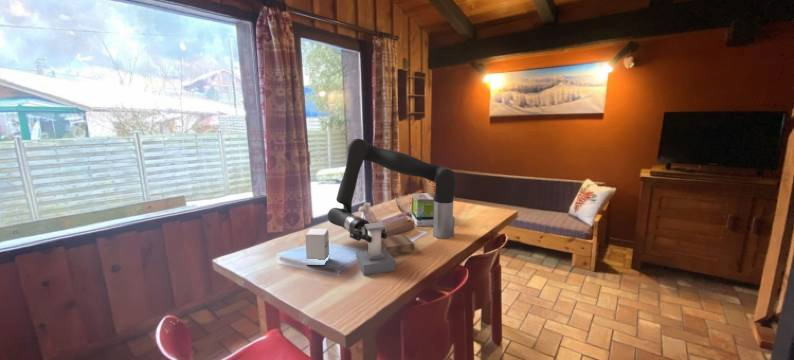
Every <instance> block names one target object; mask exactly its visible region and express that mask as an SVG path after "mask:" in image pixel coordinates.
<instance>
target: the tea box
mask: <svg viewBox="0 0 794 360" xmlns="http://www.w3.org/2000/svg"><path fill="white" fill-rule="evenodd" d="M411 195H412V197H411V219H412V221H413V220H414V221H413V222H414V223H415V226H417V227H429V226H430V227H431V226H432V227H433V215H434V196H433V195H431V194H430V193H427V192H425V193H423V192H421V193H419V192H418V193H411Z"/></svg>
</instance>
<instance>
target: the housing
mask: <svg viewBox="0 0 794 360" xmlns="http://www.w3.org/2000/svg"><path fill="white" fill-rule="evenodd" d="M365 228H366V229H367V230H368V235H369V236H371V237H372V242H370V243H369V242H367V250H366V251H367V252H365V255H366V256H367V257H368V259H369V260H373V259H380V258H385V255H384V254H383V253H382V251H381V230H384V228H385V225H383V224H382V223H381V222H373V223H369V224H365Z"/></svg>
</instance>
